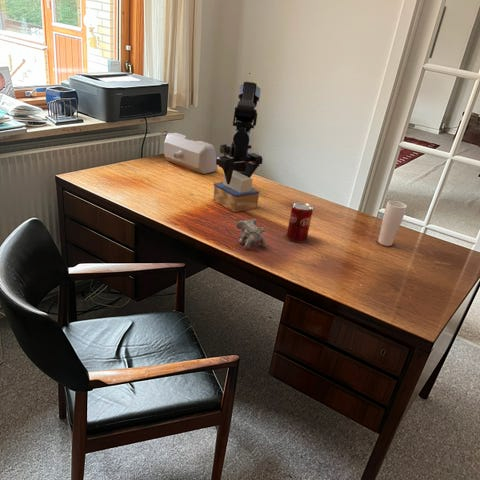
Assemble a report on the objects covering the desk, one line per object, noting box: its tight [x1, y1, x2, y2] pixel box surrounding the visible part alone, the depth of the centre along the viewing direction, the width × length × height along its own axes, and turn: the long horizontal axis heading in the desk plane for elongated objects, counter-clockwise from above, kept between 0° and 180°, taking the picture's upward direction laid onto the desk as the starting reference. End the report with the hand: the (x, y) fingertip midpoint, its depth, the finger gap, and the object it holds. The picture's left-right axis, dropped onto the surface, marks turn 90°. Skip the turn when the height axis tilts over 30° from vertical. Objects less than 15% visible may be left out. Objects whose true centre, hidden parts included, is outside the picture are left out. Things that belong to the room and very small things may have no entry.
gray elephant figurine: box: [236, 218, 266, 250], centre depth 158 cm, size 9×12×8 cm
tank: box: [163, 132, 219, 175], centre depth 218 cm, size 25×16×12 cm, turn 52°
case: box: [222, 170, 253, 193], centre depth 184 cm, size 11×5×5 cm, turn 40°
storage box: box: [212, 185, 260, 213], centre depth 188 cm, size 14×12×6 cm
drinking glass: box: [377, 200, 408, 247], centre depth 169 cm, size 7×7×15 cm
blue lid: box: [213, 181, 260, 197], centre depth 186 cm, size 14×12×1 cm
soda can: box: [286, 201, 314, 243], centre depth 165 cm, size 7×7×12 cm
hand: (237, 182), depth 185 cm, fingers open, 9 cm apart
